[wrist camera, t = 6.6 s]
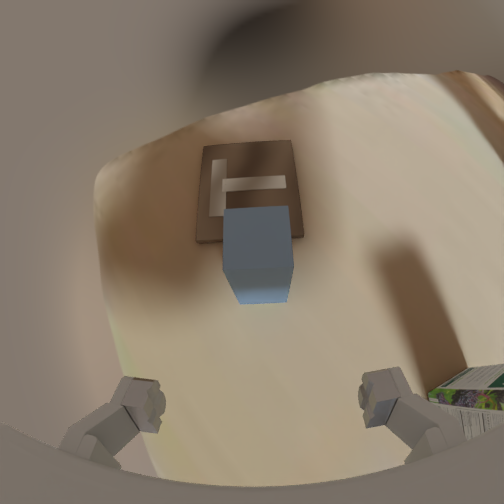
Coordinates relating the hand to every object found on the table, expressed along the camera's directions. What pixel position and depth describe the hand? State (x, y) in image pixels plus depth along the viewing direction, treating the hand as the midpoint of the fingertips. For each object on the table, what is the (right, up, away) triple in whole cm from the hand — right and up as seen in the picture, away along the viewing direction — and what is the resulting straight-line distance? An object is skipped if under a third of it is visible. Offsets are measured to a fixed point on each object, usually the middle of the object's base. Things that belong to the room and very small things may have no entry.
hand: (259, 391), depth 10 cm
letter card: (-1, +12, +19) cm, 22 cm away
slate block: (+1, +3, +15) cm, 15 cm away
